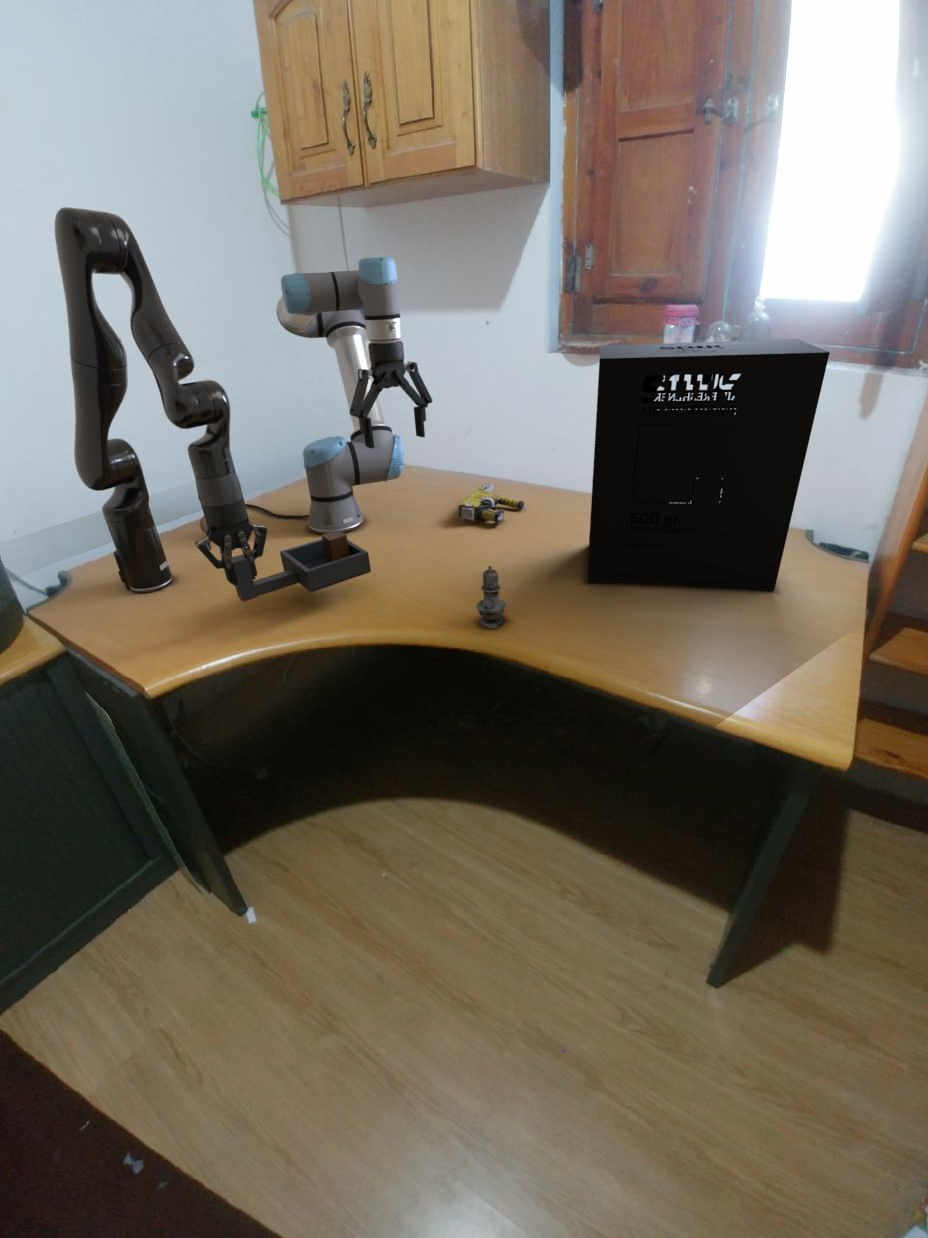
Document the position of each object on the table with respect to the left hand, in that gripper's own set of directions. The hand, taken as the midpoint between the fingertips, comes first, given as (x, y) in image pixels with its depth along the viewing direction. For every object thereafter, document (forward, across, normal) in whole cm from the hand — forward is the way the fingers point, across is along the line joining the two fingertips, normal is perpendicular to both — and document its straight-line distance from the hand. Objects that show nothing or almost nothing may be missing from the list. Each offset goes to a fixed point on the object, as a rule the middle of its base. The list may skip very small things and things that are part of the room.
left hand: (243, 580), depth 120 cm
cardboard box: (+9, +82, -41) cm, 92 cm away
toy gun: (+9, +76, +15) cm, 78 cm away
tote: (+4, +11, 0) cm, 12 cm away
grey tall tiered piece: (+9, +36, -33) cm, 50 cm away
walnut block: (+3, +20, 0) cm, 21 cm away
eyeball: (+9, +9, +55) cm, 56 cm away
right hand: (-18, +44, +10) cm, 48 cm away
